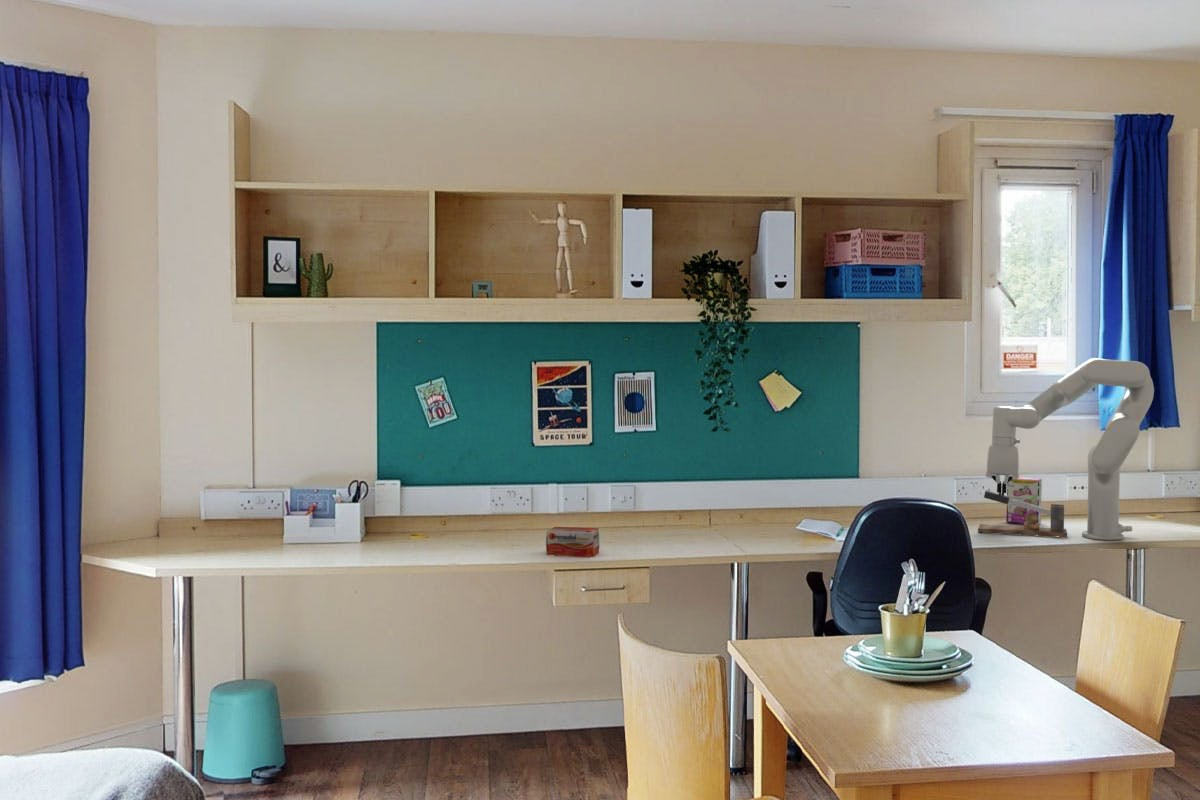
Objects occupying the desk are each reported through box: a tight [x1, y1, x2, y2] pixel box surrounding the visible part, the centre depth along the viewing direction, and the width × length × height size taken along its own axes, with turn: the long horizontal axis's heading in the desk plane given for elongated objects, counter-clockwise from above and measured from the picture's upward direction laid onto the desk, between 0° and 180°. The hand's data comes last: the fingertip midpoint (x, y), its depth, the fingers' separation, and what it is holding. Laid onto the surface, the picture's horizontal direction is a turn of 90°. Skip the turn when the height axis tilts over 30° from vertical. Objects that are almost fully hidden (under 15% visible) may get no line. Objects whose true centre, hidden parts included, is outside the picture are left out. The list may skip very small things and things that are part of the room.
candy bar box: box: [1005, 477, 1043, 525], centre depth 390 cm, size 11×5×16 cm, turn 58°
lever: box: [983, 490, 1051, 516], centre depth 369 cm, size 25×4×2 cm, turn 69°
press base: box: [977, 503, 1068, 538], centre depth 370 cm, size 28×10×10 cm, turn 68°
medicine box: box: [545, 526, 600, 558], centre depth 334 cm, size 15×8×8 cm, turn 77°
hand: (1001, 494), depth 372 cm, fingers closed
